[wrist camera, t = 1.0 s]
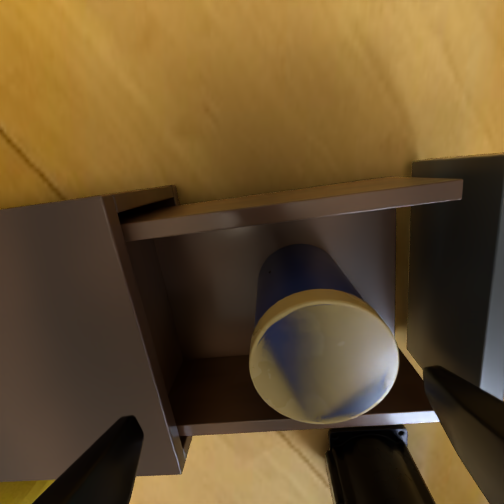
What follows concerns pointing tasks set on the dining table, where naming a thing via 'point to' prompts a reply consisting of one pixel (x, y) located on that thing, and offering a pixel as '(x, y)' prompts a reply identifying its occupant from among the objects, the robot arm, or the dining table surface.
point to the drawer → (353, 266)
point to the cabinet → (77, 338)
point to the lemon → (22, 491)
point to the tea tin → (317, 340)
